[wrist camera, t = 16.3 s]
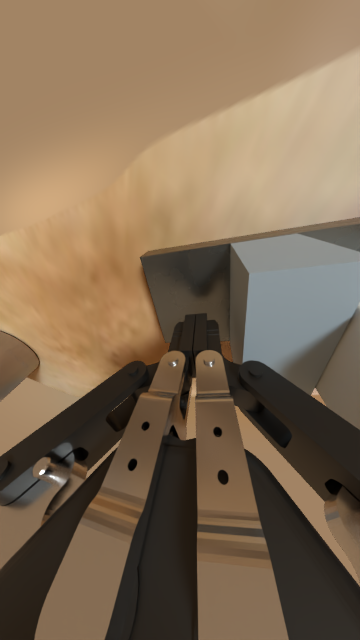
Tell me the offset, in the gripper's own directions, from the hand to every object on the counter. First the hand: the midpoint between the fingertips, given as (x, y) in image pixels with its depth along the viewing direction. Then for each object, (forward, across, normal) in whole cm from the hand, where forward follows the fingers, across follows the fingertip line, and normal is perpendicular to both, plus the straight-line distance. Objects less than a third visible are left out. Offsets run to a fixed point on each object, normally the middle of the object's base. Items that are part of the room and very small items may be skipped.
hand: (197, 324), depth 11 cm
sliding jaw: (+3, -5, 0) cm, 5 cm away
